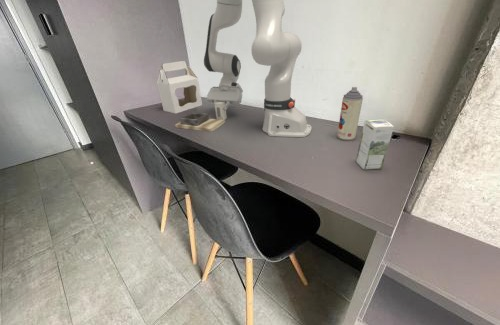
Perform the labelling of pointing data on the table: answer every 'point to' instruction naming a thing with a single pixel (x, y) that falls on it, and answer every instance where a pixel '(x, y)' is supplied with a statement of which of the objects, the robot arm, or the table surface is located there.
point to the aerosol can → (349, 115)
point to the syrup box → (374, 144)
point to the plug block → (220, 111)
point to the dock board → (199, 122)
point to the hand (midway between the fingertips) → (220, 109)
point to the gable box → (171, 84)
